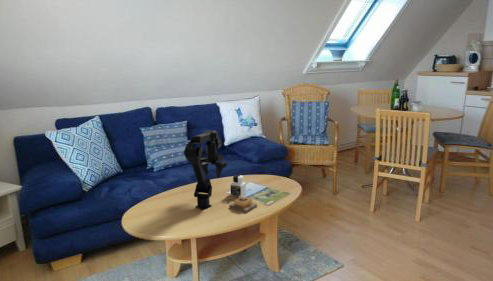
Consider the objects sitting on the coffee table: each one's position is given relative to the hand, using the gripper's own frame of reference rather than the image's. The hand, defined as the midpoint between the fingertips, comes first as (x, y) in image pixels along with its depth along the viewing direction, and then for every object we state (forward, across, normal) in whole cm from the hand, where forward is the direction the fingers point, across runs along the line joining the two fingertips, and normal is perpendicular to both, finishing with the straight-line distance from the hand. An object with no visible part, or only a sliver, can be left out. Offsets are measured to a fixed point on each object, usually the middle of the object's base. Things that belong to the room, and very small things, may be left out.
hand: (212, 176), depth 204 cm
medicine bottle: (+13, -10, -12) cm, 20 cm away
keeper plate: (+13, -24, +2) cm, 27 cm away
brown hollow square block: (+12, -24, +2) cm, 27 cm away
